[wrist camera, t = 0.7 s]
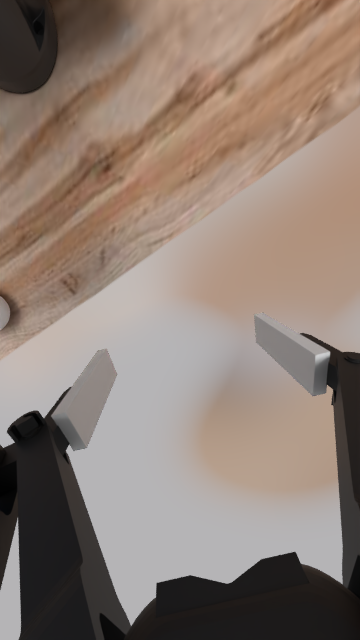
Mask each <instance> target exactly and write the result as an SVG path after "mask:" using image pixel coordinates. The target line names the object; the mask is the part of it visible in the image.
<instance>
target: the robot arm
mask: <svg viewBox="0 0 360 640" xmlns="http://www.w3.org/2000/svg"><path fill="white" fill-rule="evenodd" d="M56 53H57V31H56V24H55V19H54V15H53V11H52V8H51V5H50V2H49V0H0V88H2V89H4V90H7V91H11V92H19V93H21V92H28V91H32V90H34V89H36V88H38V87H39V86H41V85H42V84H43V83H44V82H45V81H46V79H47V78H48V77H49V75H50V73H51V71H52V69H53V66H54V63H55V59H56ZM254 319H255V332H256V343H257V344H259V345H260V346H261V347H262V348H263V349H264V350H265V351H266V352H267V353H268V354H269V355H270V356H271V357H272V358H273V359H274V360H275V361H276V362H277V363H279V364H280V365H281V366H282V367H283V368H284V369H285V370H286V371H287V372H288V373H289V374H290V375H291V376H292V377H293V378H294V379H295V380H296V381H297V382H298V383H299V384H300V385H302V386H303V387H304V388H305V389H306V390H307V391H308V392H309V393H310V394H311V395H312V396H316V395H320V394H325V393H326V388H327V385H328V386H330V387H331V388H332V389H333V396H332V404H331V405H333V406H334V422H335V437H336V452H337V465H338V480H339V495H340V511H341V526H342V541H343V559H342V576H343V585H342V584H341V583H340V582H338V581H336V580H335V579H334V578H332V577H331V576H329V575H327V574H325V573H324V572H322V571H320V570H318V569H315V568H313V567H310V566H308V565H303V564H301V563H300V561H299V559H298V557H297V554H296V552H292V553H288V554H284V555H279V556H274V557H270V558H265V559H262V560H260V561H259V562H257V563H256V564H255V565H254V566H252V567H251V568H250V569H248V570H247V571H246V572H245V573H243V574H242V575H241V576H239V577H238V578H237V579H236V580H235V581H233V582H232V583H229V584H225V583H221V582H217V581H212V580H208V579H203V578H199V577H195V576H191V575H190V576H186V577H181V578H177V579H173V580H168V581H164V582H160V583H157V588H156V598H155V599H153V600H152V601H151V602H150V603H149V604H148V605H147V606H146V607H145V608H144V610H143V611H142V612H141V613H140V615H139V616H138V617H137V618H136V620H135V622H134V623H133V625H132V626H131V625H130V623H129V620H128V618H127V616H126V613H125V612H124V610H123V608H122V606H121V604H120V602H119V599H118V597H117V595H116V592H115V589H114V586H113V583H112V581H111V578H110V575H109V572H108V569H107V566H106V563H105V560H104V557H103V555H102V552H101V549H100V546H99V543H98V540H97V537H96V534H95V531H94V529H93V526H92V523H91V520H90V517H89V514H88V511H87V508H86V506H85V502H84V500H83V497H82V494H81V491H80V488H79V485H78V482H77V479H76V476H75V474H74V471H73V468H72V465H71V462H70V459H69V456H68V454H67V453H66V449H67V447H68V445H69V444H70V446H71V447H72V449H73V451H75V450H80V449H84V448H87V446H88V444H89V441H90V439H91V437H92V434H93V431H94V429H95V427H96V425H97V422H98V420H99V417H100V415H101V412H102V410H103V408H104V405H105V403H106V400H107V398H108V395H109V393H110V391H111V388H112V386H113V383H114V381H115V378H116V376H117V373H116V370H115V368H114V366H113V363H112V361H111V358H110V356H109V353H108V351H107V349H103V350H99V351H97V353H96V354H95V355H94V357H93V358H92V360H91V361H90V362H89V364H88V365H87V367H86V368H85V369H84V371H83V372H82V373H81V375H80V376H79V378H78V379H77V380H76V382H75V383H74V385H73V386H72V387H70V388H69V389H67V390H66V391H65V392H64V393H63V394H62V395H61V397H60V398H59V400H58V401H57V402H56V404H55V405H54V406H53V407H52V409H51V410H50V411H49V413H48V414H47V415H46V417H45V418H43V417H42V416H41V414H40V413H39V411H31V412H28V413H26V414H24V415H23V416H21V417H20V418H18V419H17V420H16V421H14V422H13V423H12V424H11V425H10V427H9V428H8V430H7V433H8V434H9V435H10V436H11V438H12V439H13V440H14V442H15V443H13V444H11V445H9V446H7V447H5V448H3V447H2V446H1V445H0V589H1V584H2V581H3V577H4V572H5V568H6V564H7V560H8V556H9V552H10V547H11V543H12V539H13V535H14V531H15V526H16V522H17V518H18V526H19V528H18V529H19V561H20V563H19V564H20V600H21V634H20V637H19V640H360V353H355V352H341V351H339V350H337V349H335V348H334V347H332V346H330V345H328V344H326V343H324V342H323V341H321V340H318V339H317V338H315V337H313V336H312V335H308V334H304V333H300V334H299V333H297V332H295V331H294V330H292V329H290V328H289V327H287V326H285V325H283V324H282V323H280V322H278V321H276V320H275V319H273V318H271V317H269V316H268V315H266V314H264V313H259V314H255V315H254Z"/></svg>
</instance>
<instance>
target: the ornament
mask: <svg viewBox="0 0 360 640" xmlns="http://www.w3.org/2000/svg"><path fill="white" fill-rule="evenodd" d="M9 318H10V308H9V306H8V304H7V302H6V301H5V300H4V299H3V298H2V297H1V296H0V330H1V329H2V328H4V326H5V325H6V324H7V323H8V321H9Z"/></svg>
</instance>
